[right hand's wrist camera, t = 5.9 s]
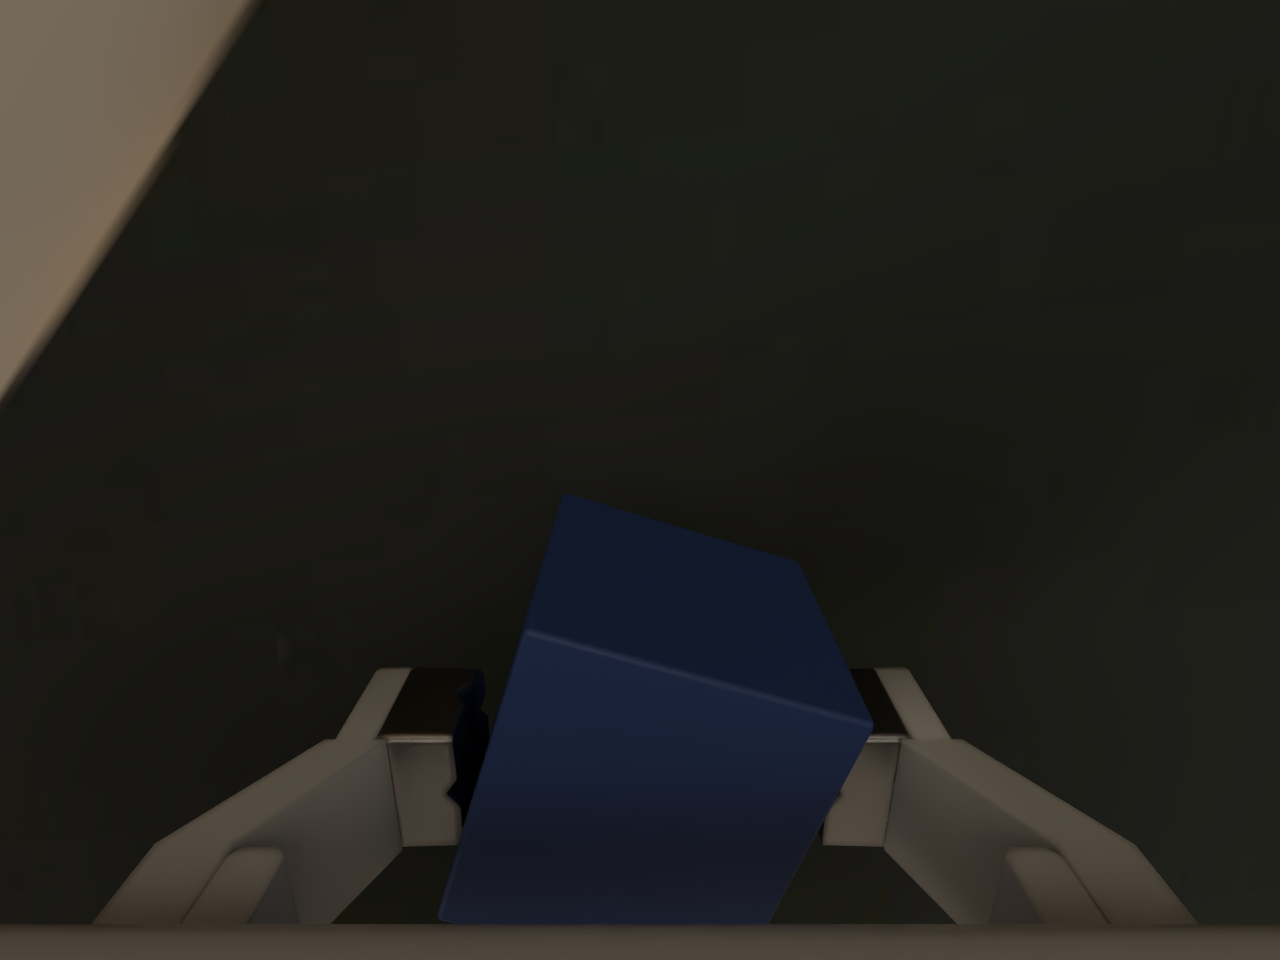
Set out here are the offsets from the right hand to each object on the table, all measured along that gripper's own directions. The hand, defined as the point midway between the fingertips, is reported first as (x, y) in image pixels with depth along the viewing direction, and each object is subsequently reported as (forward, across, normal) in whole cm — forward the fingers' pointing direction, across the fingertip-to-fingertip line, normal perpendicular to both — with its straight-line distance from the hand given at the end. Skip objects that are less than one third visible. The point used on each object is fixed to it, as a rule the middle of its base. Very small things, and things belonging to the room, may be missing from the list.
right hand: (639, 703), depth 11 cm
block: (+2, 0, 0) cm, 2 cm away
